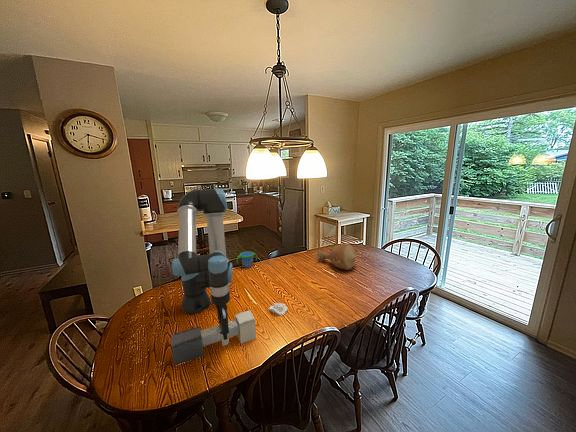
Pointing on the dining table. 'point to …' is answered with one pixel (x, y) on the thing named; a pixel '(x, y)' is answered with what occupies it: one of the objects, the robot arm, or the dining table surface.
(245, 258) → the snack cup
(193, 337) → the dark grey rectangular box
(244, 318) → the socket
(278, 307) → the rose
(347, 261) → the jug
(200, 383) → the dining table surface
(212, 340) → the pale grey rectangular box
